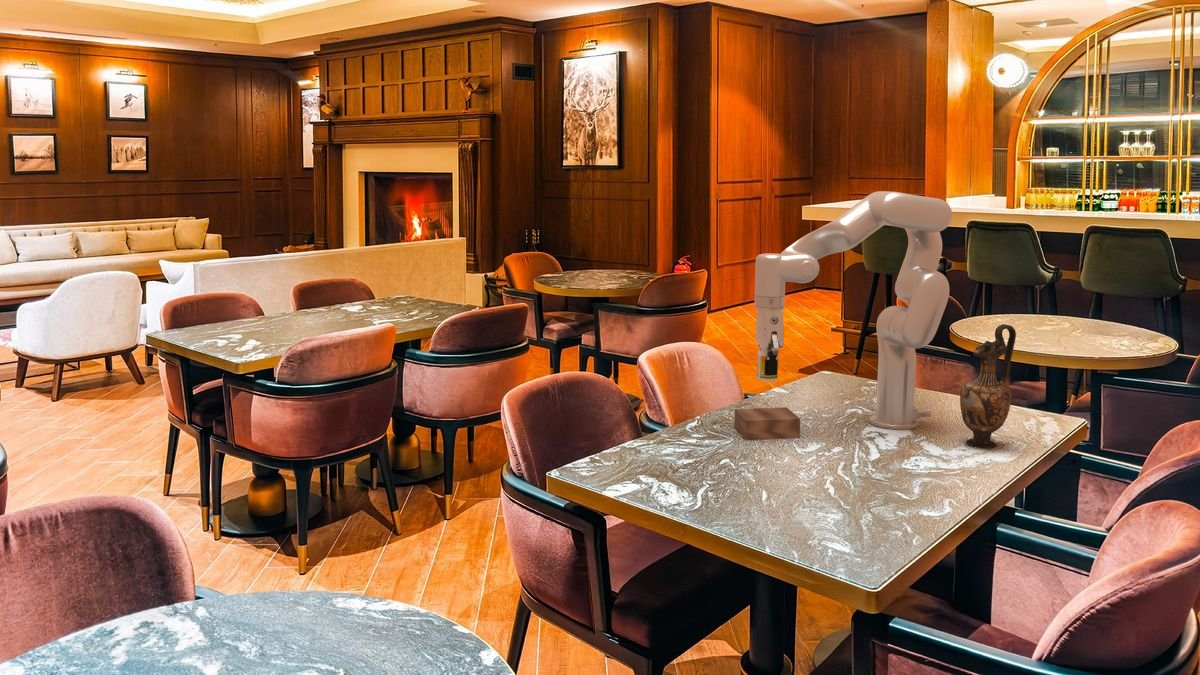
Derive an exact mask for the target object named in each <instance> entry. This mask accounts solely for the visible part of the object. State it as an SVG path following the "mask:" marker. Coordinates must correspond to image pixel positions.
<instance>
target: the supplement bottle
mask: <svg viewBox="0 0 1200 675" xmlns="http://www.w3.org/2000/svg"><path fill="white" fill-rule="evenodd" d="M768 346H769V347H772V345H768ZM760 348H761V350H759V349H758V351H757V355H756V356H757V359H756V380H758V381H763V382H776V381H777V380H778V378H779V368H778V369H777V375H765V374H764V373H765V360H766V348H764V347H763V346H761V345H760ZM770 351H772V350H769V353H770ZM779 355H780V354H779V353H778V358H779Z"/></svg>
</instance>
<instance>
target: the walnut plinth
mask: <svg viewBox="0 0 1200 675" xmlns="http://www.w3.org/2000/svg"><path fill="white" fill-rule="evenodd" d="M734 428H735V430H736V431H737V432H738V433H739V434H740V435H741V436H742V437H743V438H744V440H745V441H748V440H749V441H750V440H776V439H777V440H779V439H800V438H801V418H800V417H799V416H798V415H797V414H795V413H794V412H793V411H791V410H790V409H789V408H788V407H787V406H786V407H784V406H783V407H759V408H758V407H756V408H755V407H753V408H751V407H750V408H735V409H734Z"/></svg>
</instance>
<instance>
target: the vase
mask: <svg viewBox="0 0 1200 675" xmlns="http://www.w3.org/2000/svg"><path fill="white" fill-rule="evenodd" d="M1005 330H1007V331H1008V334H1009V335H1008V340H1007V343H1005V339H1004V336H1003V335H1004V334H1003V331H1005ZM1016 337H1017V331H1016V328H1014V326H1012V325H1009V324H1003V323H1002V324H1000V325H998V326H997V327H996V328H995V331H994V338H995V340H994V341H989V340H986V341H984V343H982V345H979V346H977V347H976V348H975V350H974V351H973V352H972V354H973V356H974V357H976V358H979V360H980V369H979V373H978V376H977V378H976V379H974V380H970V381H967V382H965V383H962V385H961V386H960V391H959V392H960V394H959V408H960V414H961V416H962V420H963V422H964V425H965V427H966V428H968V430H970V431H971V432H972V434H973V435H972V436H973V438H969V439H967V440H966V442H965V444H966V445H967V446H970V447H971V446H972V447H971V448H975V447H976V448H975V449H981V450H983V449H984V450H985V449H994V448H996V447H997V446H998V445H997V443H996V442H995V441H993V440H992V434H993V433H994V432H996V431H999V429H1001V428H1002V427H1003V426H1004V424H1005V422H1006V420H1007V418H1008V415H1009V412H1010V409H1011V403H1012V391H1011V389H1010V386H1011V385H1012V384H1011V378H1010V370H1011V363H1012V358H1013V352H1014V347H1015V344H1016ZM1003 355H1004V359H1003V365H1002V373H1001V378H1000V380H998V379H997V374H996V373H997V362H998V360H999V359H1000V357H1002V356H1003Z"/></svg>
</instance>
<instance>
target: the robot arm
mask: <svg viewBox="0 0 1200 675" xmlns="http://www.w3.org/2000/svg"><path fill="white" fill-rule="evenodd" d="M952 220H953V211H952V208H951V206H950V205H949V204H948V202H947V201H945V200H943V199H941V198H938V197H937V198H936V197H929V196H922V195H917V194H910V193H904V192H898V191H886V190H884V191H883V190H882V191H874V192H871V193H870V194H868V195H867V196H865V197H864V198H863V199H861V200H860V201H859V202H857V203H856V204H854V205H853V206H852V207H850V208H849V209H848V210H846V211H845V212H844V213H842V214H841V215H840V216H838V217H837V218H835V219H834V220H832V221H830V222H828V223H827V224H825V225H823V226H821V227H819V228H817V229H815V230H813V231H811V232H809V233H807V234H805V235H804V236H802V237H801V238H799V239H797V240H796V241H794V242H793V243H791V245H789V246H788V247H786V248H785V249H784V250H783V251H781V252H780V253H775V252H774V253H761V254H758V255H757V256H756V258H755V264H754V266H755V267H754V270H755V271H754V272H755V273H754V274H755V275H754V304H753V305H754V309H755V310H757V312H756V325H755V327H756V328H755V340H756V343H757V344H758V351H759V350H761V348H760V345H761V346H763V347H764V348H766V360H765V373H764V374H765V375H777V369H778V370H779V357H778V354H779V351H780V349H783V348H784V346H785V345H784V344H785V343H784V342H785V336H784V334H785V333H784V325H785V323H784V314H783V313H784V312H783V310H784V309H785V306H786V305H785V304H786V303H785V299H786V297H785V296H786V283H787V282H789V283H798V284H806V283H807V284H808V283H810V282H812V281H813V280H815V278H817V277H818V275H819V272H820V264H819V261H818V260H820V259H822V258H824V257H826V256H829V255H833V254H838V253H842V252H846V251H848V250H851V249H854V248H855V247H857V246H858V245H859V244H860V243H862V242H863V241H865V240H866V239H867V238H869V237H870V236H871V235H872V234H874V233H875V232H876V231H878V230H879V229H880V228H882V227H884V226H889V227H890V226H891V227H896V228H902V229H904V230H905V232H906V234H907V238H908V239H907V241H908V245H907V249H906V253H905V257H904V259H903V261H902V265H901V267H900V270H899V272H898V275H897V279H896V282H895V285H894V292H895V295H896V296H897V297H898V299H900V300H901V301H903V302H906V303H908V304H909V305H908V307H906V306H902V305H891V306H887V307H886V308H884V309H883V310H882V311H881V312H880V314H878V317H877V321H876V337H877V344H878V359H877V360H878V362H877V363H878V364H877V386H876V405H875V406H876V408H875V414H873V415H871V416H870V417H869V423H870V424H871V425H873V426H876V427H878V428H884V429H890V430H909V429H910V430H911V429H912V430H913V429H915V428H917V427H919V425H920V420H919V419H920V418H931V417H932V410H931V409H923V408H916V407H915V391H916V390H915V388H916V369H917V367H916V366H917V355H916V349H922V348H924V347H926V346H927V345H928V344H930V342H932V341H933V339H934V337H935V335H936V334H937V331H938V328H939V325H940V324H941V320H942V317H943V315H944V312H945V310H946V307H947V304H948V300H949V296H950V283H949V281H948V279H947V277H946V275H944V274H943V273H941V272H940V271H937V270H938V267H939V263H940V259H941V256H942V252H943V239H942V235H941V232H942V231H944V230H946V229H947V228H948V227H949V225H950V224H951V222H952ZM768 345H772V347H769V346H768ZM769 350H772V351H770V353H769Z"/></svg>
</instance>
